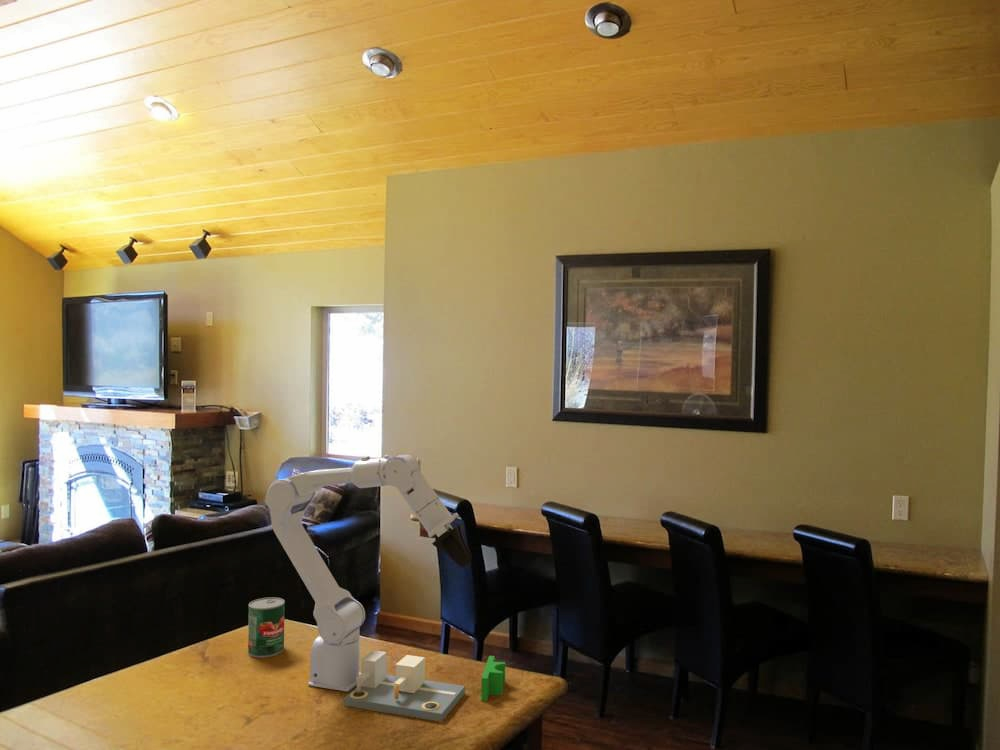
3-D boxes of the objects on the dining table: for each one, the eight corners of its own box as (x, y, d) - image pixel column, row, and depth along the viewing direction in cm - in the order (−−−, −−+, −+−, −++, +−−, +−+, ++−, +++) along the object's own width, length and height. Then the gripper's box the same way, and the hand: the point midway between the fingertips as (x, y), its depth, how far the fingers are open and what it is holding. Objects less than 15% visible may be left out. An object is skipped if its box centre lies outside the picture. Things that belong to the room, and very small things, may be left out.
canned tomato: (271, 659, 151) (272, 609, 151) (240, 655, 153) (241, 606, 153) (290, 645, 158) (291, 598, 159) (260, 642, 160) (261, 596, 160)
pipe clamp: (500, 703, 131) (500, 679, 131) (481, 702, 131) (481, 678, 131) (506, 677, 142) (506, 655, 142) (489, 676, 142) (489, 655, 142)
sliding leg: (386, 699, 128) (386, 672, 128) (406, 679, 136) (406, 654, 137) (405, 702, 127) (405, 675, 127) (424, 682, 135) (425, 657, 135)
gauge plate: (344, 705, 129) (344, 670, 129) (374, 679, 140) (374, 647, 140) (441, 722, 123) (441, 684, 123) (464, 693, 134) (465, 659, 134)
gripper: (440, 493, 129) (482, 553, 127) (446, 495, 143) (484, 548, 141) (409, 516, 128) (451, 576, 126) (419, 515, 142) (457, 569, 140)
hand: (467, 563), depth 133 cm, fingers open, 7 cm apart
